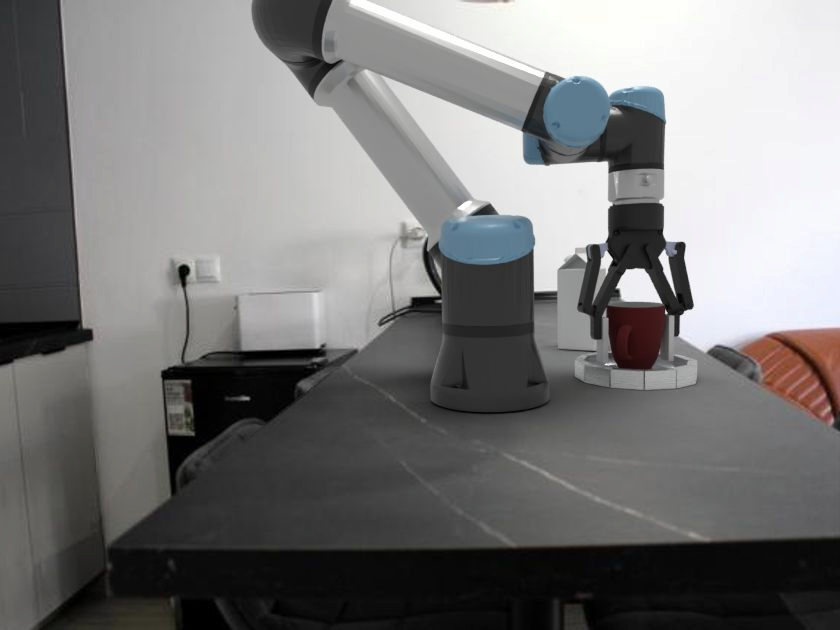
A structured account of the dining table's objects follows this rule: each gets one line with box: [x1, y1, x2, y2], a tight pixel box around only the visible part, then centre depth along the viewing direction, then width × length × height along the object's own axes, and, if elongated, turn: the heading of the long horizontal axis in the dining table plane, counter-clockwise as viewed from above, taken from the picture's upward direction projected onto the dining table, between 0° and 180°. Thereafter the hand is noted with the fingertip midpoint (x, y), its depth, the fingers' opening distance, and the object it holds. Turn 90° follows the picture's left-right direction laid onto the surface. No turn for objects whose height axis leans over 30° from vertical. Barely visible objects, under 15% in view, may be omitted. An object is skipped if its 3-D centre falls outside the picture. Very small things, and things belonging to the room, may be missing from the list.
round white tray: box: [574, 350, 698, 391], centre depth 90 cm, size 16×16×2 cm
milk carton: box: [556, 246, 607, 352], centre depth 117 cm, size 7×7×19 cm
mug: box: [606, 301, 666, 370], centre depth 89 cm, size 11×8×10 cm
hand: (634, 360), depth 90 cm, fingers open, 9 cm apart
